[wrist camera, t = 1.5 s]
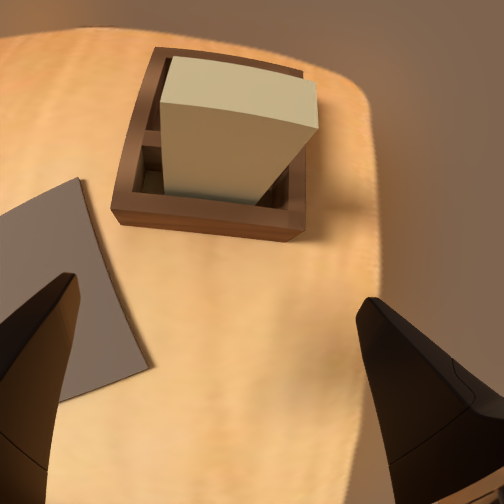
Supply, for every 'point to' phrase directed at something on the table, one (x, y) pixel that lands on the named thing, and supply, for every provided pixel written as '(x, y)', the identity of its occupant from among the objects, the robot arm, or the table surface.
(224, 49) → the table surface
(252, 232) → the slotted box
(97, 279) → the rubber mat
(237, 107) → the beige rectangular block
